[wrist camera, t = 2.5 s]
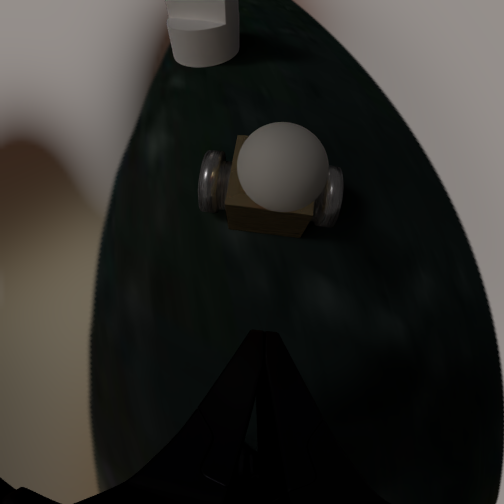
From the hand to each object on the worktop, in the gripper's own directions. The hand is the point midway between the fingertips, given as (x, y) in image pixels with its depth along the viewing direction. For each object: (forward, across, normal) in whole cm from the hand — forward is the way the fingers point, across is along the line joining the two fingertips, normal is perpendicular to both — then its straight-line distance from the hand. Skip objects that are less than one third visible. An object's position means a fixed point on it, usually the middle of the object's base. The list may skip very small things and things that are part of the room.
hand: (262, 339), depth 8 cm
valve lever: (+13, 0, -3) cm, 13 cm away
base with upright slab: (+34, +10, -14) cm, 38 cm away
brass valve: (+17, 0, +2) cm, 17 cm away
